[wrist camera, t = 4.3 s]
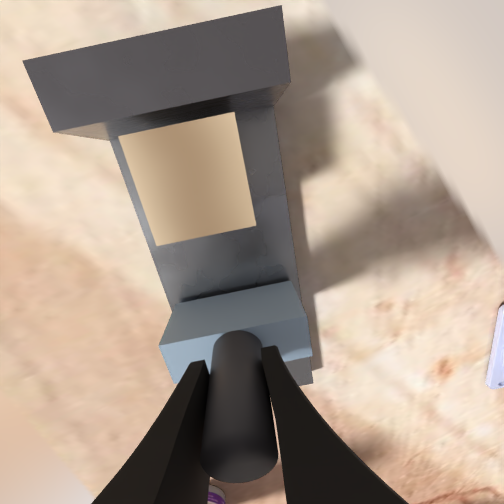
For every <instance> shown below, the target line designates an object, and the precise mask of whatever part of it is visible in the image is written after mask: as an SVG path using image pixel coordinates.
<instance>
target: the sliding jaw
mask: <svg viewBox="0 0 504 504" xmlns="http://www.w3.org/2000/svg"><path fill="white" fill-rule="evenodd" d="M273 345H275V346H277V347H278V349H279V352H280V355H281V357H282V359H283V361H284V362H285V361H290V360H295V359H300V358H305V357H310V356H313V355H312V348H311V341H310V333H309V326H308V319H307V315H306V312H305V310H304V308H303V306H302V304H301V301H300V299H299V297H298V295H297V293H296V291H295V288H294V286H293V284H292V282H291V281H286V282H281V283H276V284H271V285H266V286H261V287H256V288H251V289H246V290H242V291H237V292H232V293H227V294H222V295H217V296H212V297H207V298H202V299H197V300H192V301H187V302H183V303H178V304H176V305H175V307H174V310H173V312H172V314H171V317H170V319H169V322H168V324H167V326H166V329H165V331H164V334H163V336H162V339H161V341H160V343H159V348H160V351H161V353H162V356H163V358H164V360H165V363H166V365H167V368H168V370H169V373H170V375H171V377H172V380H173V382H174V384H176V383H179V381H180V379H181V378H182V376H183V374H184V372H185V371H186V369H187V367H188V365H189V364H190V363H191V362H194V361H199V360H204V359H205V362H206V365H207V368H208V371H209V374H210V378H209V386H208V394H207V403H206V411H205V419H204V428H203V436H202V445H201V453H200V464H201V467H202V469H203V470H204V471H205V472H206V473H207V474H208V475H209V476H211V477H212V478H214V479H217V480H219V481H223V482H228V483H243V482H249V481H253V480H256V479H258V478H261V477H262V476H264V475H266V474H267V473H269V472H270V471H271V470H272V469H273V468H274V466H275V465H276V463H277V460H278V448H277V441H276V434H275V428H274V421H273V414H272V407H271V400H270V393H269V389H268V385H267V381H266V377H265V372H264V368H263V364H262V358H261V348H263V347H268V346H273Z"/></svg>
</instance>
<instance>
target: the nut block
mask: <svg viewBox="0 0 504 504" xmlns="http://www.w3.org/2000/svg"><path fill="white" fill-rule="evenodd" d="M118 138H119V141H120V143H121V146H122V149H123V152H124V155H125V158H126V160H127V163H128V166H129V169H130V172H131V175H132V178H133V180H134V183H135V186H136V189H137V192H138V195H139V197H140V200H141V203H142V206H143V209H144V212H145V215H146V217H147V220H148V223H149V226H150V229H151V232H152V235H153V237H154V240H155V243H156V246H160V245H165V244H170V243H175V242H179V241H184V240H189V239H194V238H199V237H204V236H208V235H213V234H218V233H223V232H228V231H233V230H238V229H242V228H247V227H252V226H256V221H255V216H254V211H253V206H252V200H251V195H250V190H249V185H248V180H247V175H246V170H245V164H244V159H243V154H242V149H241V144H240V139H239V134H238V128H237V123H236V118H235V113H234V112H231V113H226V114H222V115H217V116H212V117H207V118H203V119H198V120H193V121H188V122H184V123H179V124H174V125H169V126H165V127H160V128H155V129H150V130H146V131H141V132H136V133H132V134H127V135H122V136H118Z"/></svg>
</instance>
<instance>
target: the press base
mask: <svg viewBox="0 0 504 504" xmlns="http://www.w3.org/2000/svg"><path fill="white" fill-rule="evenodd" d="M23 63H24V66H25V68H26V70H27V73H28V75H29V77H30V80H31V82H32V84H33V87H34V89H35V91H36V94H37V96H38V98H39V100H40V103H41V105H42V107H43V110H44V112H45V114H46V117H47V119H48V121H49V124H50V126H51V128H52V130H53V132H54V133H60V134H67V135H74V136H81V137H87V138H94V139H101V140H108V141H110V142H111V145H112V148H113V150H114V153H115V156H116V159H117V161H118V164H119V167H120V170H121V172H122V175H123V178H124V181H125V183H126V186H127V189H128V192H129V194H130V197H131V200H132V203H133V205H134V208H135V211H136V214H137V216H138V219H139V222H140V225H141V227H142V230H143V233H144V236H145V238H146V241H147V244H148V247H149V249H150V252H151V255H152V258H153V260H154V263H155V266H156V269H157V271H158V274H159V277H160V280H161V282H162V285H163V288H164V291H165V293H166V296H167V299H168V302H169V304H170V307H171V310H172V312H173V310H174V307H175V305H176V304H178V303H183V302H187V301H192V300H197V299H202V298H207V297H212V296H217V295H222V294H227V293H232V292H237V291H242V290H246V289H251V288H256V287H261V286H266V285H271V284H276V283H281V282H286V281H291V282H292V284H293V286H294V288H295V291H296V293H297V295H298V297H299V299H300V301H301V294H300V287H299V280H298V273H297V266H296V259H295V252H294V245H293V239H292V232H291V225H290V218H289V211H288V204H287V197H286V190H285V183H284V176H283V169H282V162H281V155H280V148H279V141H278V134H277V127H276V121H275V114H274V107H273V106H274V105H275V104H276V102H277V101H278V99H279V98H280V97H281V95H282V94H283V92H284V91H285V90H286V88H287V87H288V85H289V84H290V83H291V80H290V71H289V63H288V55H287V46H286V38H285V29H284V21H283V13H282V5H280V6H276V7H271V8H266V9H262V10H257V11H252V12H248V13H243V14H238V15H234V16H229V17H224V18H220V19H215V20H210V21H206V22H201V23H196V24H192V25H187V26H182V27H178V28H173V29H168V30H164V31H159V32H154V33H150V34H145V35H140V36H136V37H131V38H126V39H122V40H117V41H112V42H108V43H103V44H98V45H94V46H89V47H84V48H80V49H75V50H70V51H66V52H61V53H56V54H52V55H47V56H42V57H38V58H33V59H28V60H24V61H23ZM231 112H234V113H235V118H236V123H237V128H238V134H239V139H240V144H241V149H242V154H243V159H244V164H245V170H246V175H247V180H248V185H249V190H250V195H251V200H252V206H253V211H254V216H255V221H256V226H252V227H247V228H242V229H238V230H233V231H228V232H223V233H218V234H213V235H208V236H204V237H199V238H194V239H189V240H184V241H179V242H175V243H170V244H165V245H160V246H156V243H155V240H154V237H153V235H152V232H151V229H150V226H149V223H148V220H147V217H146V215H145V212H144V209H143V206H142V203H141V200H140V197H139V195H138V192H137V189H136V186H135V183H134V180H133V178H132V175H131V172H130V169H129V166H128V163H127V160H126V158H125V155H124V152H123V149H122V146H121V143H120V141H119V138H118V136H122V135H127V134H132V133H136V132H141V131H146V130H150V129H155V128H160V127H165V126H169V125H174V124H179V123H184V122H188V121H193V120H198V119H203V118H207V117H212V116H217V115H222V114H226V113H231ZM301 304H302V301H301ZM284 363H285V365H286V366H287V368H288V370H289V372H290V373H291V375H292V377H293V378H294V380H295V381H296V383H297V384H298V386H302V385H307V384H312V383H313V377H312V370H311V364H310V357H305V358H300V359H295V360H290V361H285V362H284Z"/></svg>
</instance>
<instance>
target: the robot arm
mask: <svg viewBox="0 0 504 504" xmlns="http://www.w3.org/2000/svg"><path fill="white" fill-rule="evenodd" d="M261 358H262V364H263V368H264V372H265V377H266V381H267V385H268V389H269V393H270V398H271V402H272V406H273V410H274V414H275V418H276V425H277V432H278V440H279V447H280V454H281V462H282V469H283V477H284V485H285V493H286V500H287V504H408V503H407V502H406V501H405V500H404V499H403V498H402V497H400V496H399V495H398V494H397V493H396V492H395V491H394V490H393V489H391V488H390V487H389V486H388V485H387V484H386V483H385V482H384V481H383V480H382V479H381V478H380V477H379V476H377V475H376V474H375V473H374V472H373V471H372V470H371V469H370V468H369V467H368V466H367V465H366V464H365V463H364V462H363V461H362V460H361V459H360V458H359V457H358V456H357V455H356V454H355V453H354V452H353V451H352V450H351V449H350V448H349V447H348V446H347V445H346V444H345V443H344V442H343V441H342V439H341V438H340V437H339V436H338V435H337V434H336V433H335V432H334V431H333V429H332V428H331V427H330V426H329V425H328V424H327V422H326V421H325V420H324V419H323V418H322V417H321V415H320V414H319V413H318V412H317V410H316V409H315V408H314V407H313V405H312V404H311V403H310V401H309V400H308V399H307V397H306V396H305V394H304V393H303V392H302V390H301V389H300V387H299V386H298V384H297V383H296V381H295V380H294V378H293V377H292V375H291V373H290V372H289V370H288V368H287V366H286V365H285V363H284V361H283V359H282V357H281V355H280V352H279V349H278V347H277V346H275V345H273V346H268V347H263V348H261ZM209 378H210V374H209V371H208V368H207V365H206V362H205V359H204V360H199V361H194V362H191V363H190V364H189V365H188V367H187V369H186V371H185V372H184V374H183V376H182V378H181V379H180V381H179V383H178V385H177V386H176V388H175V390H174V392H173V393H172V395H171V397H170V398H169V400H168V401H167V403H166V405H165V406H164V408H163V410H162V411H161V413H160V414H159V416H158V417H157V419H156V420H155V422H154V423H153V425H152V426H151V428H150V429H149V431H148V432H147V434H146V435H145V437H144V438H143V440H142V441H141V442H140V444H139V445H138V447H137V448H136V449H135V451H134V452H133V453H132V455H131V456H130V457H129V459H128V460H127V461H126V463H125V464H124V465H123V466H122V468H121V469H120V470H119V471H118V473H117V474H116V475H115V476H114V478H113V479H112V480H111V481H110V482H109V483H108V485H107V486H106V487H105V488H104V489H103V491H102V492H101V493H100V494H99V495H98V496H97V498H96V499H95V500H94V501H93V502H92V504H208V492H209V481H210V476H209V475H208V474H207V473H206V472H205V471H204V470H203V469H202V467H201V464H200V453H201V445H202V436H203V428H204V419H205V411H206V403H207V394H208V386H209ZM485 383H486V385H487V386H488V387H489V388H490V389H497V388H502V387H504V304H503V305H502V306H501V307H500V308H499V311H498V316H497V322H496V327H495V333H494V338H493V343H492V349H491V354H490V360H489V365H488V371H487V376H486V382H485Z"/></svg>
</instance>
